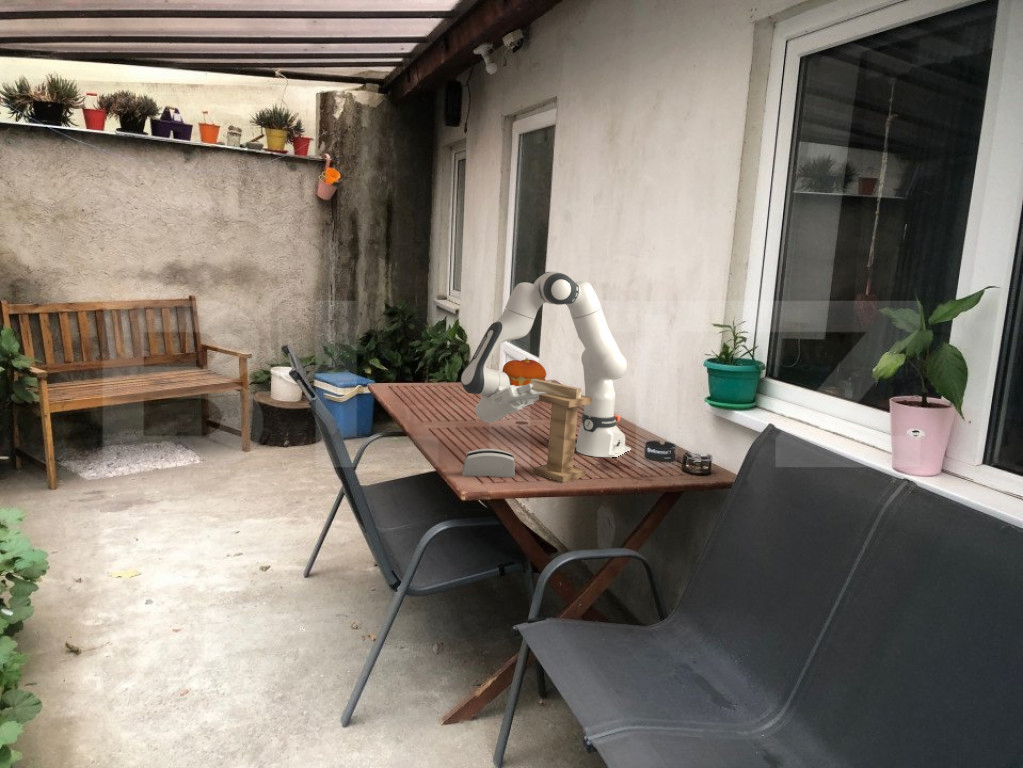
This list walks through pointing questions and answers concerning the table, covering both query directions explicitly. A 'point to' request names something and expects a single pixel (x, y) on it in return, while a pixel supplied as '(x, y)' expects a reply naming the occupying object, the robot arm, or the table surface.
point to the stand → (562, 438)
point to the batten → (556, 389)
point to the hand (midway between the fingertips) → (541, 384)
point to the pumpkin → (524, 371)
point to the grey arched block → (489, 463)
